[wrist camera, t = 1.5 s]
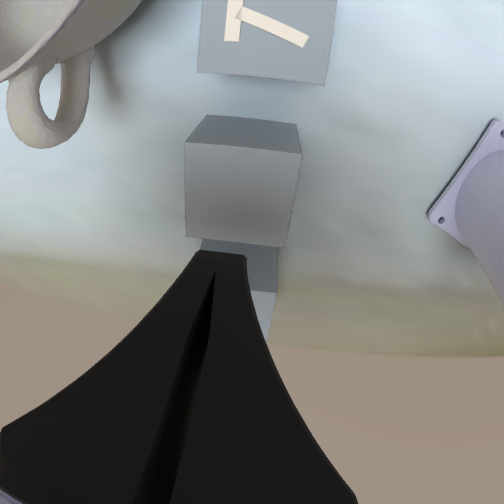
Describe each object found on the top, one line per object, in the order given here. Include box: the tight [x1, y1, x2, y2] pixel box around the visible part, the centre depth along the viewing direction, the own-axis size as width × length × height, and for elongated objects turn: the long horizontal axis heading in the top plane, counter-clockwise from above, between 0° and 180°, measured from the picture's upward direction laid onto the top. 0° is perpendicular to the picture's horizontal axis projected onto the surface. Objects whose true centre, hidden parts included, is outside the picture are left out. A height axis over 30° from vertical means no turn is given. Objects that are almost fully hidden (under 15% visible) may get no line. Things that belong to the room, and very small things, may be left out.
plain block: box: [185, 115, 302, 248], centre depth 15 cm, size 4×4×4 cm
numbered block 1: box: [200, 238, 278, 342], centre depth 19 cm, size 4×4×5 cm
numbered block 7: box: [197, 0, 337, 86], centre depth 10 cm, size 4×4×5 cm
